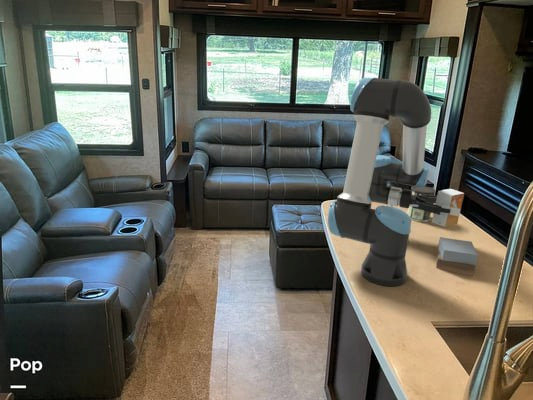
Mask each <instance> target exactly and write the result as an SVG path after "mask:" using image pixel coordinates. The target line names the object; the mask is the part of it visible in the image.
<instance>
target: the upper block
mask: <svg viewBox="0 0 533 400" xmlns="http://www.w3.org/2000/svg"><path fill="white" fill-rule="evenodd" d="M437 249H439V252H440V255H441V258H442V260H444V261H451V262H457V263H464V264H471V265H475V266H476V265H477V262H478V259H479V258H478V257H479V254H478V252H477V250H476V247H475V245H474V244H473V242H472V241H470V240H469V241H468V240H463V239H462V240H461V239H456V238H448V237H442V236H440V237H439V239H438V244H437Z"/></svg>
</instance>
